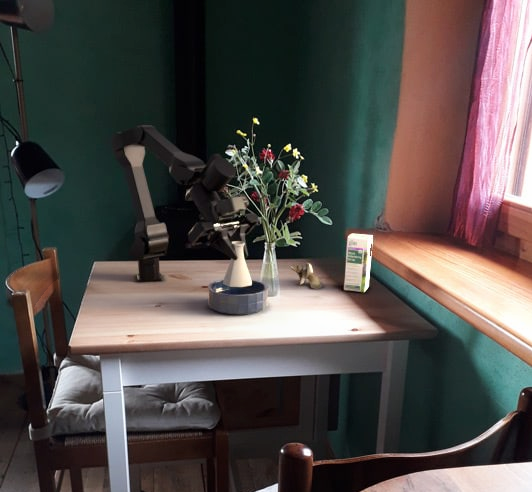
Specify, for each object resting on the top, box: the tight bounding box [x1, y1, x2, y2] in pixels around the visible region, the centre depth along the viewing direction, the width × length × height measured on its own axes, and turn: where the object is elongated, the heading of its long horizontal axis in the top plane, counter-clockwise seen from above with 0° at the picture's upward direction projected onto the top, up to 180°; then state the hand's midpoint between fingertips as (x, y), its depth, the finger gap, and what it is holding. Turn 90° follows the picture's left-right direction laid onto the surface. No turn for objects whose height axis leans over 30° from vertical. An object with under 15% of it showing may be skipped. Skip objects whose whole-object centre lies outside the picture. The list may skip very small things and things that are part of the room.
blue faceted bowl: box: [207, 279, 269, 316], centre depth 149 cm, size 14×14×5 cm
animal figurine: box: [289, 262, 323, 290], centre depth 168 cm, size 8×7×9 cm
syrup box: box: [343, 233, 374, 293], centre depth 163 cm, size 6×6×14 cm
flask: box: [222, 241, 252, 287], centre depth 146 cm, size 7×7×10 cm
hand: (241, 258), depth 144 cm, fingers closed on flask, 3 cm apart
